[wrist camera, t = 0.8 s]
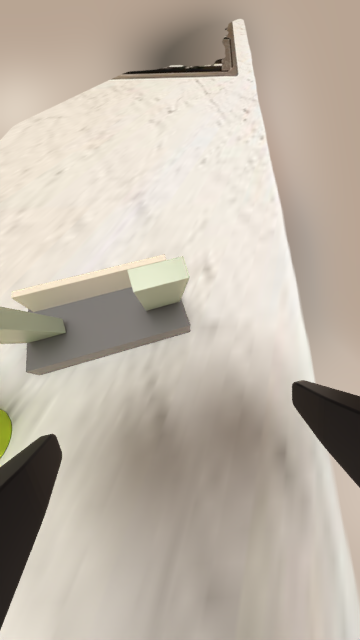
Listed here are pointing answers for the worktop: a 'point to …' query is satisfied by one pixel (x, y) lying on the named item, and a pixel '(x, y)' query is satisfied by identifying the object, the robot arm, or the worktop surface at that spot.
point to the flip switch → (159, 282)
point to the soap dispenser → (4, 431)
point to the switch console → (96, 317)
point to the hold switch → (27, 326)
